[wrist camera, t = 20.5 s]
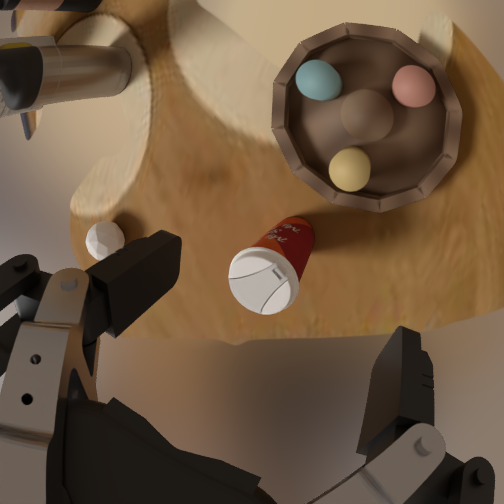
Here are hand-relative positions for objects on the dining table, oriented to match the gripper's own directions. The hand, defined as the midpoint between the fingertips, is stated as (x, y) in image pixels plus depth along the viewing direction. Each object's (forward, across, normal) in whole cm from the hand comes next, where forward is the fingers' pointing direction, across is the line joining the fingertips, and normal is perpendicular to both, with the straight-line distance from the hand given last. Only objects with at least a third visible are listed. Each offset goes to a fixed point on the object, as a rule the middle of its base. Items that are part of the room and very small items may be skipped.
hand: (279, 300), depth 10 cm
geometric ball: (+30, +38, +25) cm, 54 cm away
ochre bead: (+29, 0, 0) cm, 29 cm away
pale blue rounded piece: (+29, +6, -8) cm, 31 cm away
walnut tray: (+30, 0, -6) cm, 31 cm away
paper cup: (+30, +5, +12) cm, 33 cm away
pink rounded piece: (+29, -4, -11) cm, 31 cm away
